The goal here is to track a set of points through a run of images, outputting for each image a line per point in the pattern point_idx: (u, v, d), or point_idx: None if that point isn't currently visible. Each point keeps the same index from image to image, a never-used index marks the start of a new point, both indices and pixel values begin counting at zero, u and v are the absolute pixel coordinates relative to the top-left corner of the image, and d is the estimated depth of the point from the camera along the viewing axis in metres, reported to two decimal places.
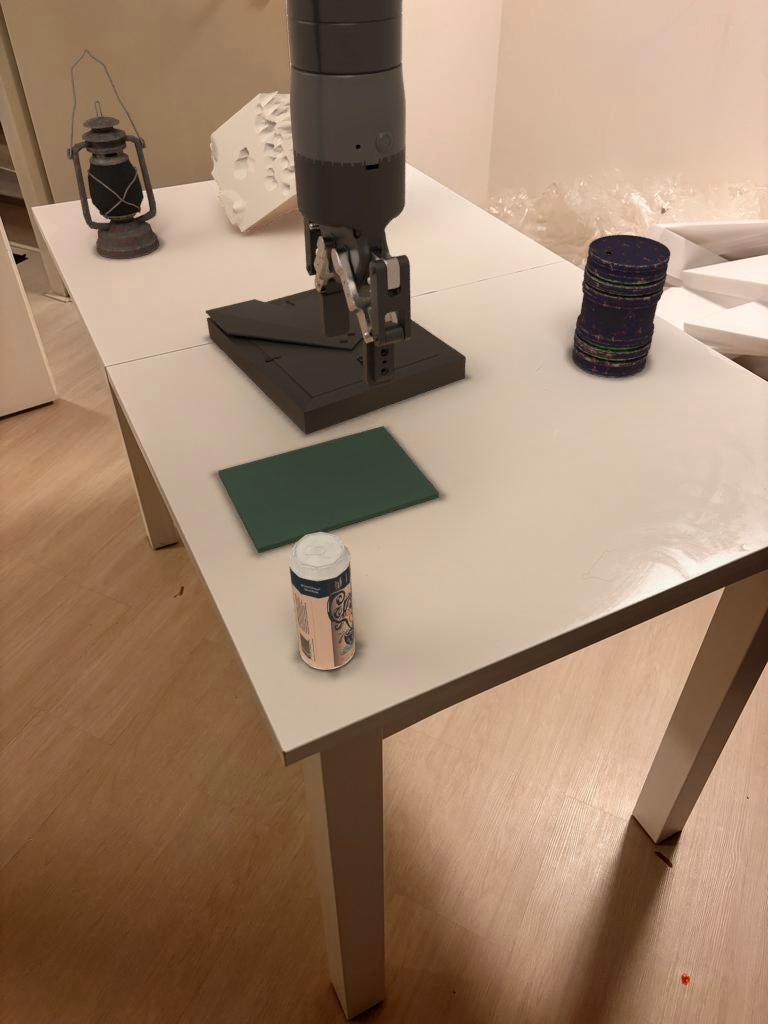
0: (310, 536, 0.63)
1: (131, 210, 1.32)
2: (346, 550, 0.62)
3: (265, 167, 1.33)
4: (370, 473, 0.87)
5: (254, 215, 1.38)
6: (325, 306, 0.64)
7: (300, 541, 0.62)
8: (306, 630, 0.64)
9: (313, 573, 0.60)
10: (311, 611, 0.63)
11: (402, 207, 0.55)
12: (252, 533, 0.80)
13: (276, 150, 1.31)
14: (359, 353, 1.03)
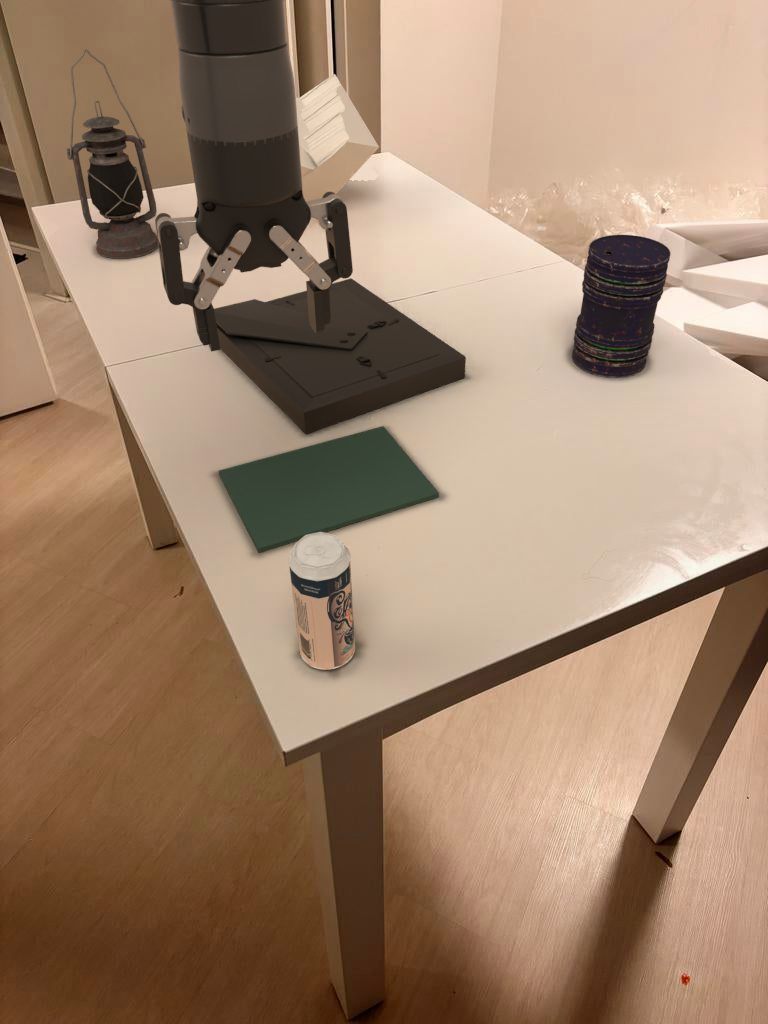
0: (310, 536, 0.63)
1: (131, 210, 1.32)
2: (346, 550, 0.62)
3: None
4: (370, 473, 0.87)
5: None
6: None
7: (300, 541, 0.62)
8: (306, 630, 0.64)
9: (313, 573, 0.60)
10: (311, 611, 0.63)
11: None
12: (252, 533, 0.80)
13: None
14: (359, 352, 1.03)
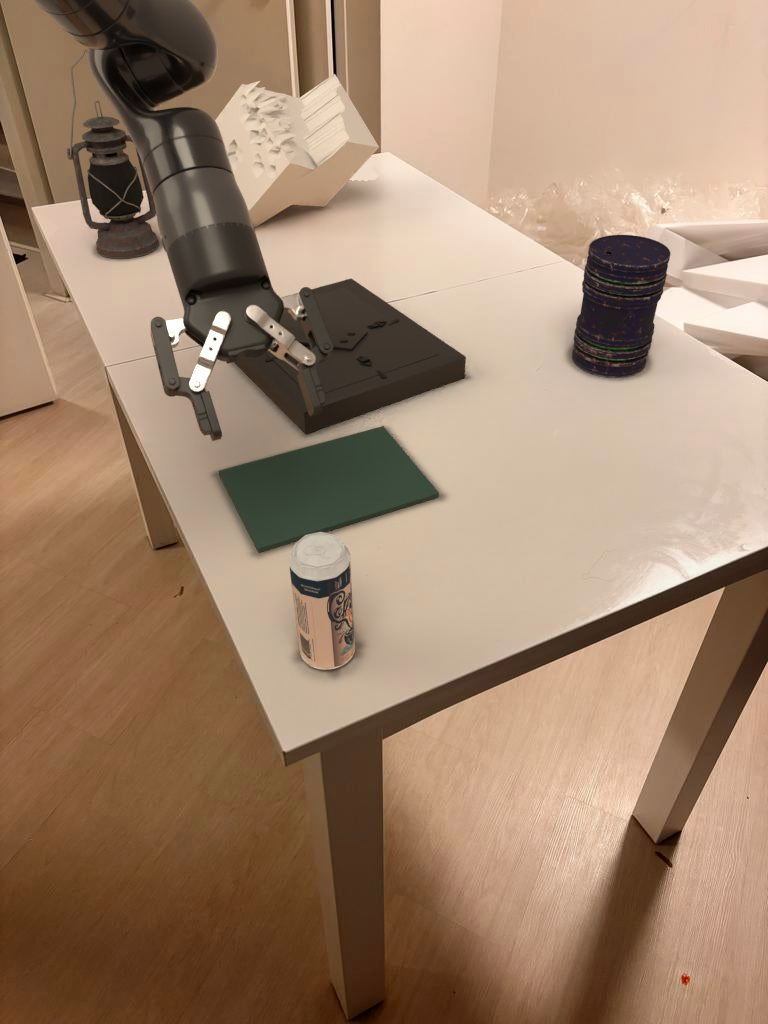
0: (310, 536, 0.63)
1: (131, 210, 1.32)
2: (346, 550, 0.62)
3: (252, 154, 1.35)
4: (370, 473, 0.87)
5: None
6: (212, 402, 0.64)
7: (300, 541, 0.62)
8: (306, 630, 0.64)
9: (313, 573, 0.60)
10: (311, 611, 0.63)
11: None
12: (252, 533, 0.80)
13: (261, 135, 1.33)
14: (359, 352, 1.03)
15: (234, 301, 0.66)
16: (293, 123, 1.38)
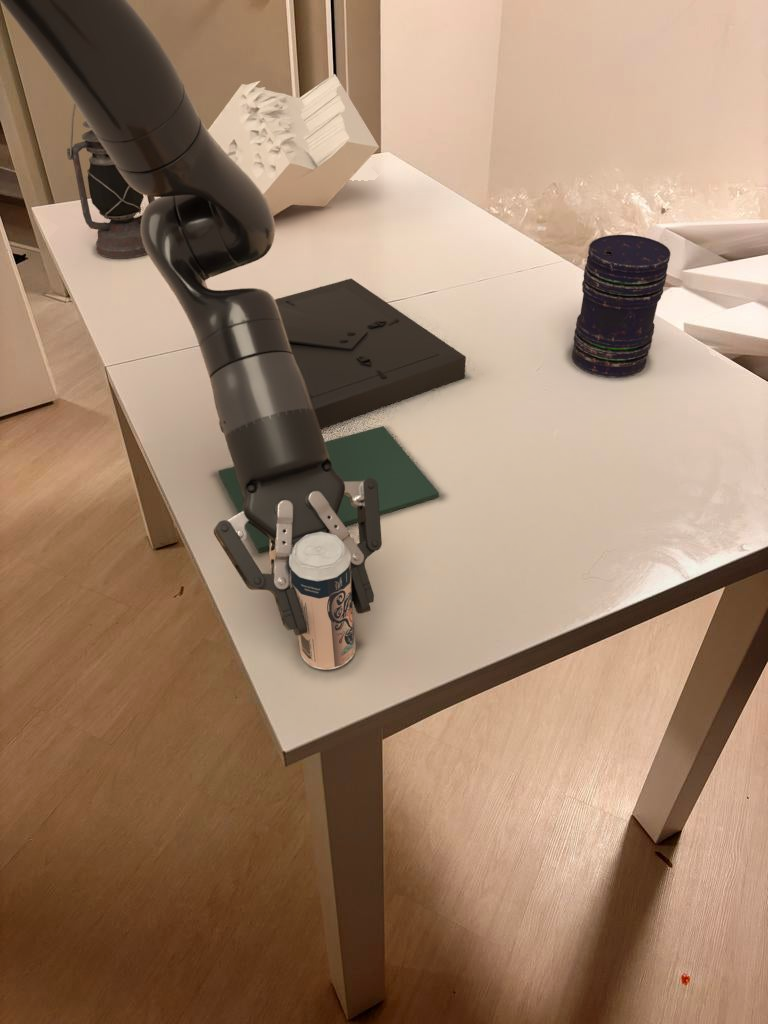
0: (310, 536, 0.63)
1: (131, 210, 1.32)
2: (346, 550, 0.62)
3: (252, 154, 1.35)
4: (370, 473, 0.87)
5: None
6: (296, 598, 0.63)
7: (300, 541, 0.62)
8: None
9: (313, 573, 0.60)
10: (312, 611, 0.63)
11: None
12: (252, 533, 0.80)
13: (261, 135, 1.33)
14: (359, 353, 1.03)
15: (295, 486, 0.64)
16: (293, 123, 1.38)
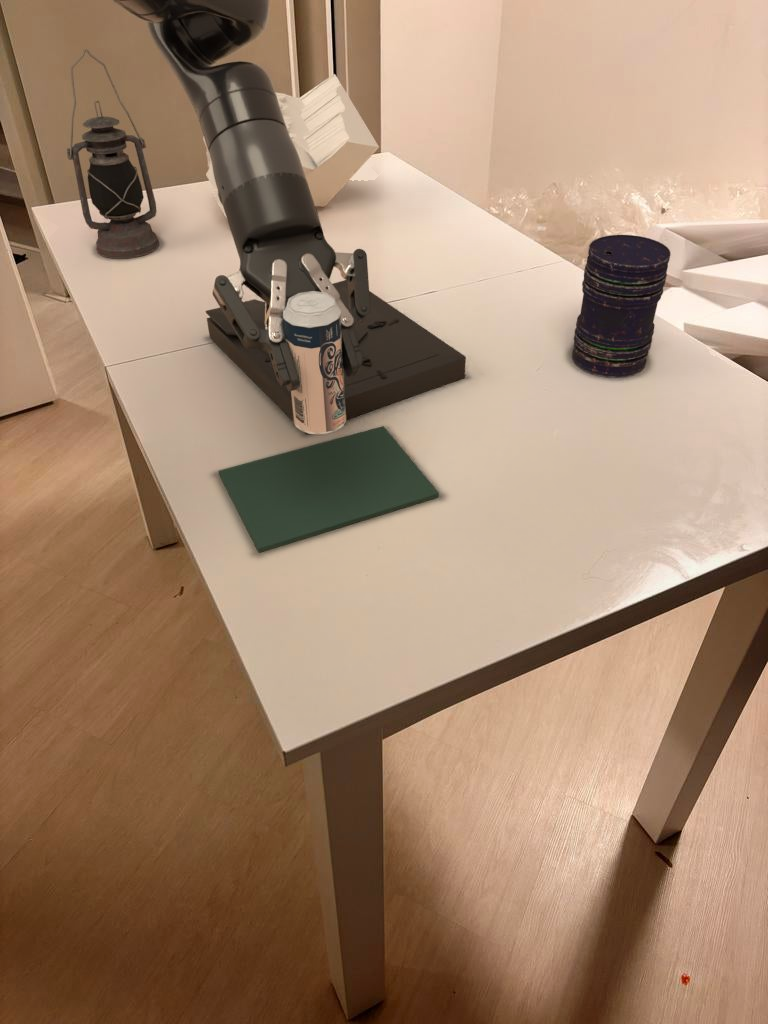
0: (303, 294, 0.67)
1: (131, 210, 1.32)
2: (337, 305, 0.66)
3: None
4: (370, 473, 0.87)
5: None
6: None
7: (294, 297, 0.66)
8: (299, 389, 0.69)
9: (305, 320, 0.64)
10: (304, 364, 0.67)
11: None
12: (252, 533, 0.80)
13: None
14: None
15: (289, 250, 0.68)
16: (293, 123, 1.38)
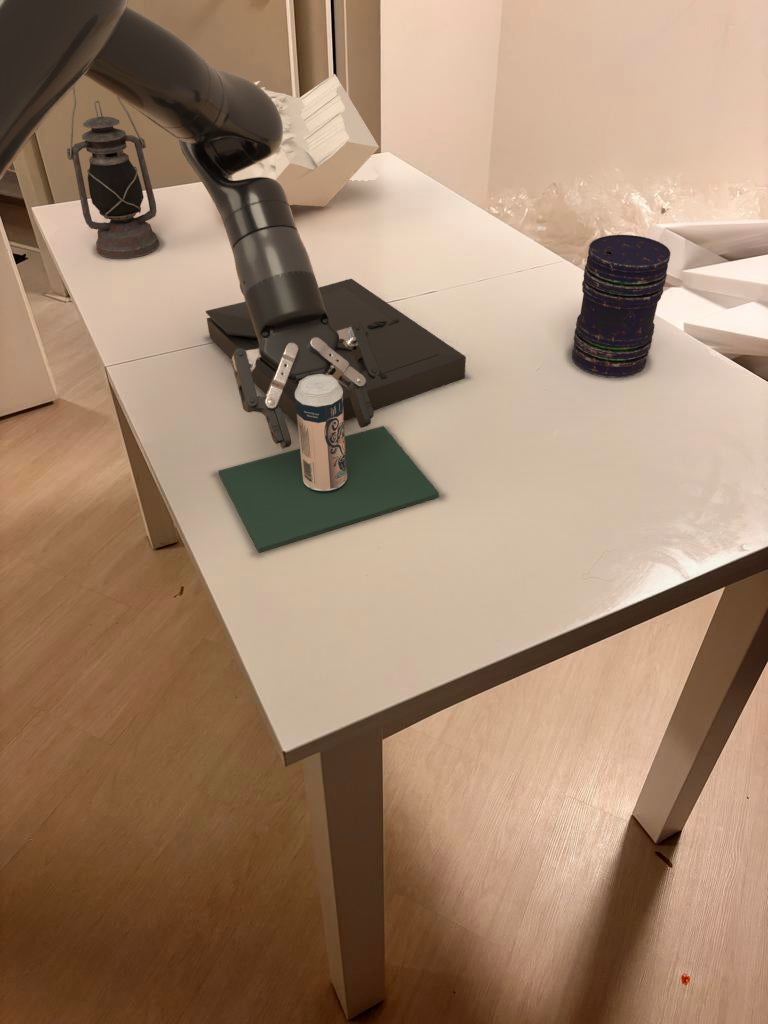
0: (311, 377, 0.80)
1: (131, 210, 1.32)
2: (339, 386, 0.79)
3: None
4: (370, 473, 0.87)
5: None
6: (283, 416, 0.79)
7: (303, 380, 0.80)
8: (308, 454, 0.82)
9: (314, 400, 0.77)
10: (312, 435, 0.80)
11: None
12: (252, 533, 0.80)
13: None
14: None
15: (300, 334, 0.80)
16: (293, 123, 1.38)
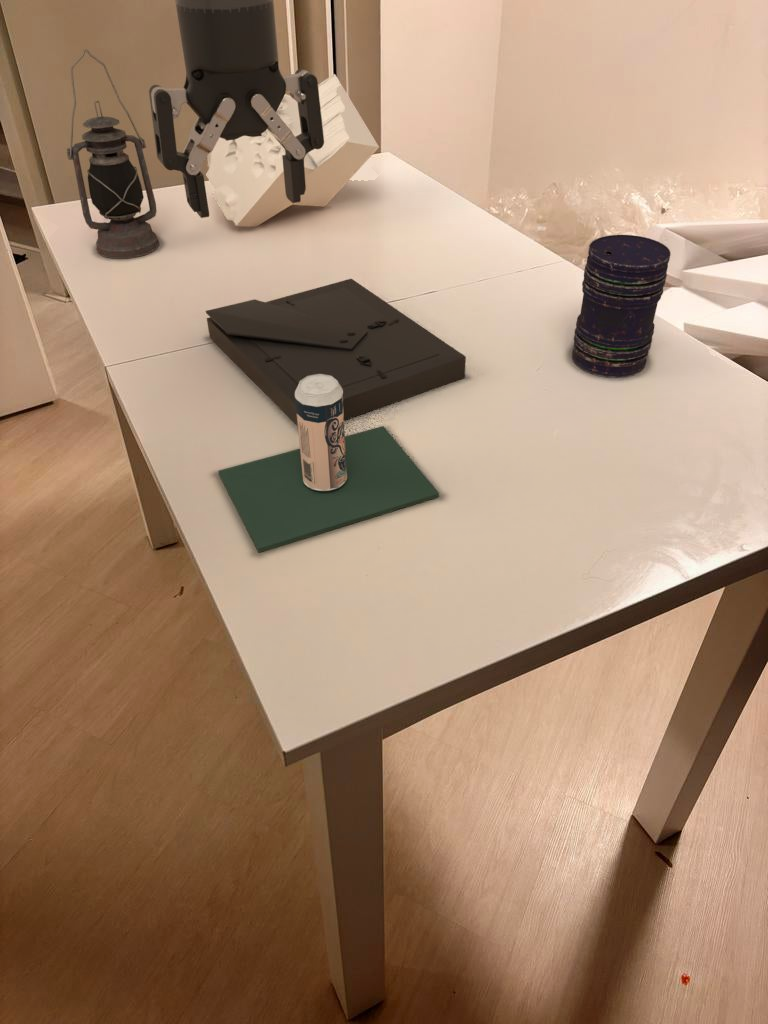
0: (311, 377, 0.80)
1: (131, 210, 1.32)
2: (339, 386, 0.79)
3: (252, 154, 1.35)
4: (370, 473, 0.87)
5: (246, 205, 1.38)
6: None
7: (303, 380, 0.80)
8: (308, 454, 0.82)
9: (314, 400, 0.77)
10: (312, 435, 0.80)
11: None
12: (252, 533, 0.80)
13: None
14: (359, 352, 1.03)
15: (240, 81, 0.65)
16: (293, 123, 1.38)
